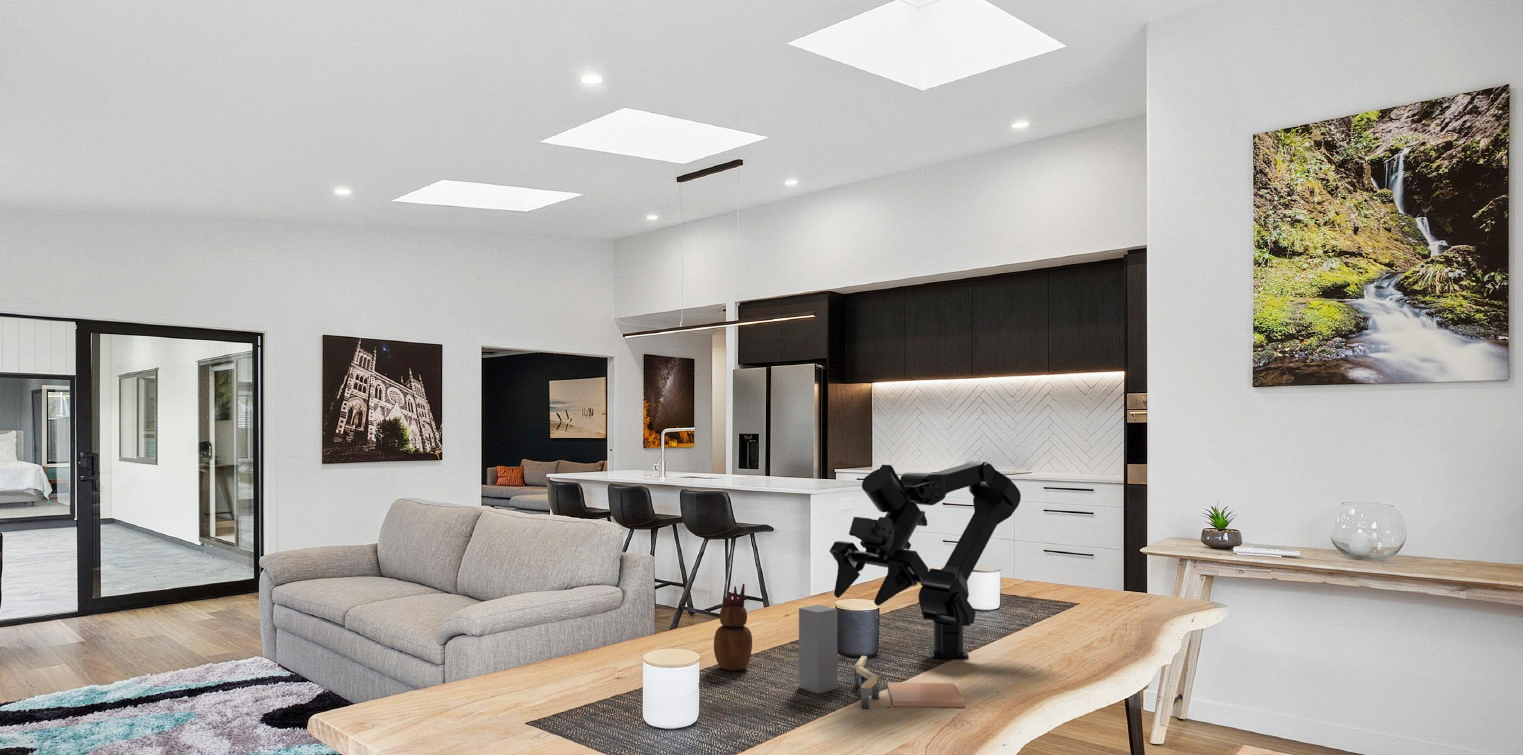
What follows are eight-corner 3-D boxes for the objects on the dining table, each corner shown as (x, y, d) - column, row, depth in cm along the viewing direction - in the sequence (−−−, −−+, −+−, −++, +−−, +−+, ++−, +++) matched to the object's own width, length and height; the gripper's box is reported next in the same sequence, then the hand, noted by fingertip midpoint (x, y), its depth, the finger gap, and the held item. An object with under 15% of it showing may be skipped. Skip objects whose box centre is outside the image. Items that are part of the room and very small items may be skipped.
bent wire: (851, 675, 156) (851, 655, 156) (873, 676, 155) (873, 655, 156) (857, 708, 137) (857, 685, 138) (882, 709, 137) (881, 686, 137)
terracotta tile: (887, 687, 149) (887, 682, 149) (954, 688, 148) (954, 683, 148) (893, 706, 139) (893, 700, 139) (965, 707, 138) (965, 701, 138)
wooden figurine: (756, 666, 162) (756, 582, 162) (745, 674, 156) (745, 587, 157) (721, 663, 164) (721, 580, 165) (709, 671, 158) (709, 585, 159)
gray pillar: (799, 687, 148) (798, 608, 149) (818, 682, 151) (818, 604, 152) (817, 693, 145) (817, 612, 146) (837, 688, 148) (837, 608, 149)
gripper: (835, 496, 165) (793, 564, 157) (916, 503, 151) (874, 577, 143) (865, 535, 170) (825, 603, 162) (946, 545, 156) (906, 619, 148)
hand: (855, 600), depth 154 cm, fingers open, 9 cm apart
